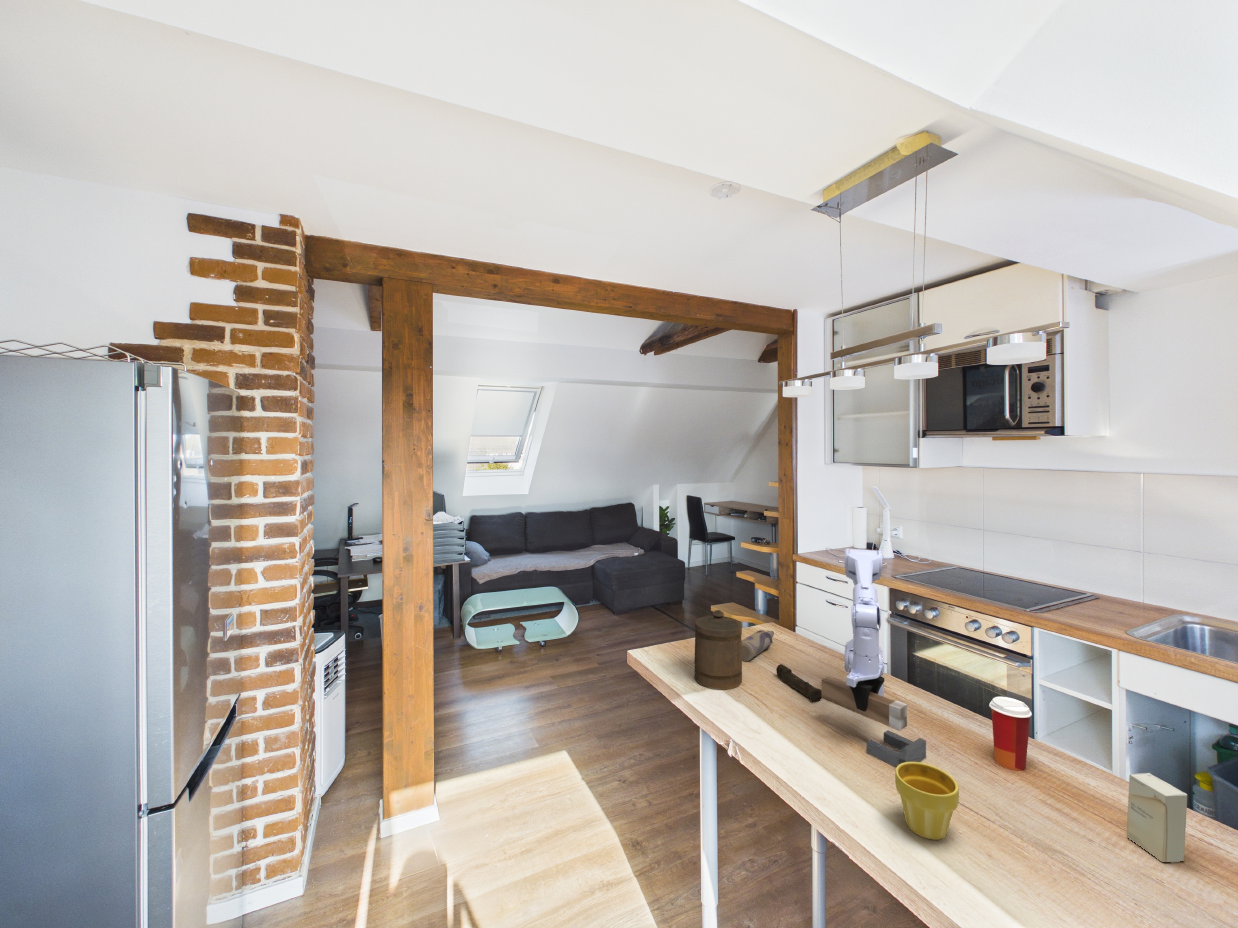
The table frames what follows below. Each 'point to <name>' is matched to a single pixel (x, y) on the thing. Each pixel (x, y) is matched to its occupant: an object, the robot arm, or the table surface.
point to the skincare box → (1157, 817)
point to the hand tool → (798, 683)
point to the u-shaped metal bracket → (907, 749)
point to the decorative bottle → (756, 644)
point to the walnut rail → (876, 709)
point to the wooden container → (718, 651)
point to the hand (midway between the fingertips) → (865, 707)
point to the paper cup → (1010, 732)
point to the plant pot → (926, 798)
